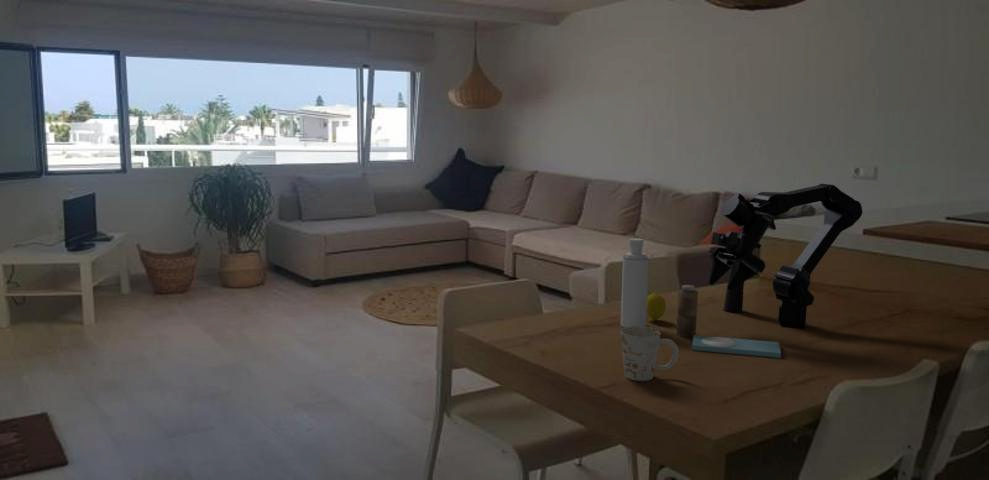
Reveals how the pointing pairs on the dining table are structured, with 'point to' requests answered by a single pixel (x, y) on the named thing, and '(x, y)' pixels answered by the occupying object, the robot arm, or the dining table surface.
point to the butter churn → (734, 295)
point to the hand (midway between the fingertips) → (719, 286)
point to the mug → (643, 352)
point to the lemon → (655, 306)
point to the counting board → (736, 346)
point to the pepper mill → (687, 311)
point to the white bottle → (634, 285)
